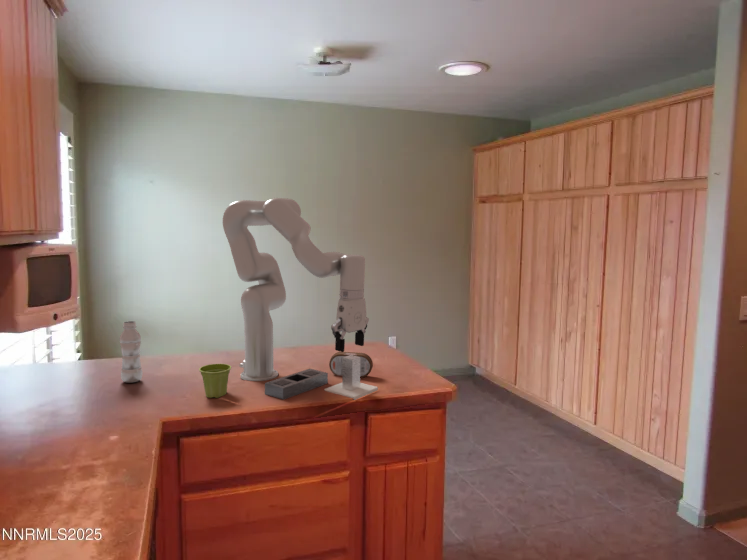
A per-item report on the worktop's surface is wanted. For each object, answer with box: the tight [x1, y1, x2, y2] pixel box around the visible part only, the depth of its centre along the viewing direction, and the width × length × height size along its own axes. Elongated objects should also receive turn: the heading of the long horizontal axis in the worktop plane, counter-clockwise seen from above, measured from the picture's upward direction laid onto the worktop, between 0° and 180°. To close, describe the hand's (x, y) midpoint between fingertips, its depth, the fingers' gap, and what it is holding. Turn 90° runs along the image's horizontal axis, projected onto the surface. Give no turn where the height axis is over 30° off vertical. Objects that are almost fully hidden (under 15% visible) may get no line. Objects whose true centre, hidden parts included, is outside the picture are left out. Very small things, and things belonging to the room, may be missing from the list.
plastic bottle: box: [119, 320, 143, 384], centre depth 175 cm, size 6×7×20 cm
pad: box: [324, 382, 379, 401], centre depth 170 cm, size 12×12×1 cm
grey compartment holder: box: [264, 368, 329, 401], centre depth 170 cm, size 8×20×4 cm, turn 143°
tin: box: [328, 351, 374, 378], centre depth 185 cm, size 15×3×8 cm, turn 84°
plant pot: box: [198, 363, 232, 399], centre depth 164 cm, size 9×9×9 cm
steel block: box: [341, 355, 361, 391], centre depth 169 cm, size 4×4×10 cm
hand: (349, 348), depth 169 cm, fingers open, 9 cm apart
